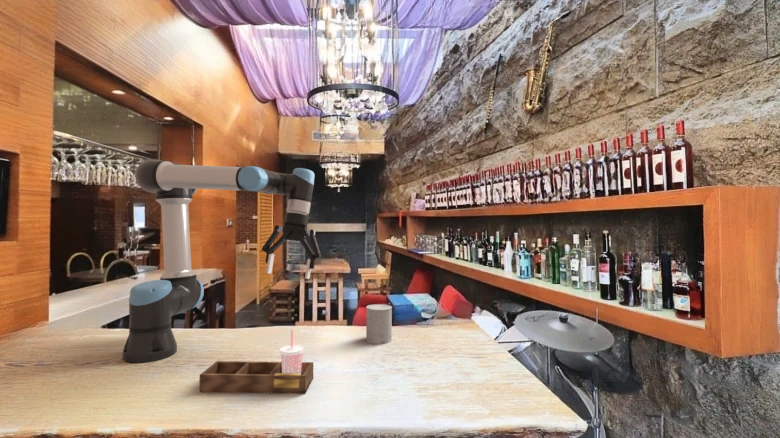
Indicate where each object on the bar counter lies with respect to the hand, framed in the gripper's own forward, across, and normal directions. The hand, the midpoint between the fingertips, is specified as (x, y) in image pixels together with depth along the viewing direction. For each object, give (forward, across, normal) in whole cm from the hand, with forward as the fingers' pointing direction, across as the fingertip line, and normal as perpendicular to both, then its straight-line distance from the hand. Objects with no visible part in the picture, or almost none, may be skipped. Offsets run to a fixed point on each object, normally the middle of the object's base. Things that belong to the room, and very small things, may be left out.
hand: (287, 276), depth 129 cm
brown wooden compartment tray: (+28, -5, +22) cm, 36 cm away
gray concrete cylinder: (+20, -31, -21) cm, 42 cm away
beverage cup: (+27, -14, +21) cm, 37 cm away
